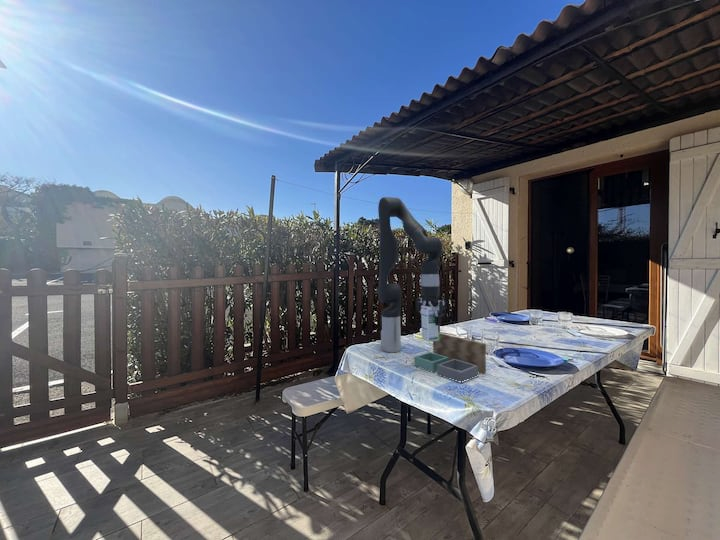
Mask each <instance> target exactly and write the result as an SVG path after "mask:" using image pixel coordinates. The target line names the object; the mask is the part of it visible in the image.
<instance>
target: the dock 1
mask: <svg viewBox="0 0 720 540" xmlns="http://www.w3.org/2000/svg"><path fill="white" fill-rule="evenodd" d="M413 359H414V367H416V366H417V368H419V367H421V368H420V369H422V368H424V369H426V370H425V371H427V370H429V371H428V372H430V371H432V372H431V373H435V371H436V372H437V365H438V364H441V363H443V362H446V361H448V357H445V356H442V355H439V354H435V353H433V351H432V352H431V351H429V352H425V353H423V354H420V355H418V354H417V355H416V356H414V358H413ZM424 369H423V370H424Z"/></svg>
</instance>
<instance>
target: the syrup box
mask: <svg viewBox="0 0 720 540" xmlns="http://www.w3.org/2000/svg"><path fill="white" fill-rule="evenodd" d="M437 308H439V305H438V306H437V307H435V309H437ZM437 312H438V311H437ZM421 316H422V322H421V339H422V340H423V341H426V342H428V343H429V342H433V341H440V333H441V324H440V325H438V326H437V325H436V324H435V317H436V315H435V313H434V312H433V310H432V307H431V306H421V314H420V317H421Z"/></svg>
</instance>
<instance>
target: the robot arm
mask: <svg viewBox="0 0 720 540" xmlns="http://www.w3.org/2000/svg"><path fill="white" fill-rule="evenodd" d="M377 209H378V210H377V211H378V212H377V213H378V224H379V255H378V256H379V275H378V287H377V295H378V296H377V297H378V301H379V302H380V303H382V304H388V303H390V305H389V306H387V307H386V308H384V309H382V310H381V330H380V348H381V350H382V351H383V352H385V353H397V352H401V350H402V343H401V342H402V341H401V339H402V338H401V337H402V336H401V311H402V289H401V286H400V284H399V283H388V280H389V276H390V273H391V271H392V270H393V268H394V266H395V265H396V263H397V262H398V258H399V243H398V240H397V238H396V236H395V233H394V232H393V230H392V226H391V218H397V219H399V220H400V221H401V222H402V228H403V231H404V232H405V234H406V235H407V236H408V237H409V238H410V239H411V240H412V242H413V244H414V246H415V248H416V250H417V251H418V252H419V253H421V254H424V255H427V258H426V259H424V260H422V261H421V264H420V265H421V277H420V295H421V296H422V297H417V298H416V301H415V302H416V304H415V305H416V311H417V313H420V321H421V323H422V316H421V306H431V307H432V310H433V312H434V313H435V315H436V317H435V324H436V325H437V326H438V325H440V326H441V324H442V316H445V315H446V300H440V299H439V297H440V274H439V264H440V259H441V256H442V251H443V243H442V240H441V239H440V238H439V237H438V236H437V237H436V236H428V235H427V233H428V232H427V230H426V229H425V228H424V227H423V226H422V225H421V223H419V221H417V219H415V218H414V216H413V214H411V212H410V211H409V209H408V208H407V206H406V205H405V203H404V202H403V201H402V200H401V199H400V198H398V197H390V196H389V197H388V196H384V197H381V198H380V200H379V201H378V208H377ZM437 306H439V308H437V309H435V307H437ZM437 311H438V312H437Z"/></svg>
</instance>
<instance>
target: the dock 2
mask: <svg viewBox="0 0 720 540" xmlns="http://www.w3.org/2000/svg"><path fill="white" fill-rule="evenodd" d="M455 369H456V370H455ZM458 370H460V371H458ZM437 374H438V375H437ZM436 375H437V376H439V375H441V376H440V377H442V376H445V377H448V378H451V379H454V380H457V381H461V382H462V381H464V380H467V379H470V378H472V377H475V376H477V375H478V376H479V373H478V366H477V365H474V364H470V363H467V362H464V361H460V360H457V359H452V360H449V361H446V362H443V363H441V364H438V365H437V371H436ZM478 376H477V377H478ZM445 377H444V378H445ZM475 378H476V377H475ZM472 379H473V378H472ZM470 380H471V379H470Z"/></svg>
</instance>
